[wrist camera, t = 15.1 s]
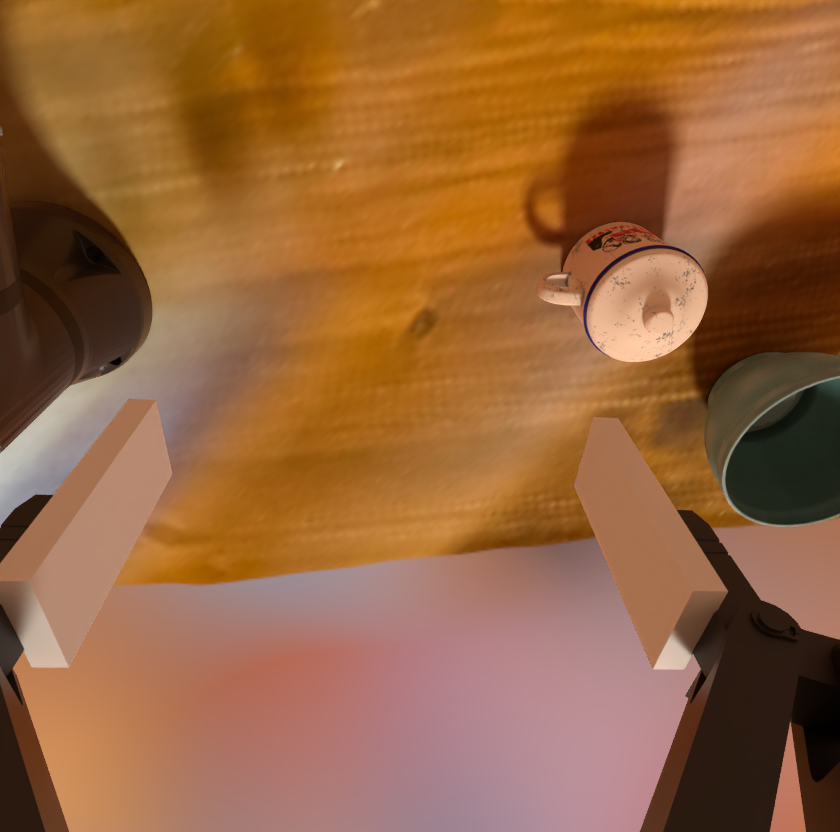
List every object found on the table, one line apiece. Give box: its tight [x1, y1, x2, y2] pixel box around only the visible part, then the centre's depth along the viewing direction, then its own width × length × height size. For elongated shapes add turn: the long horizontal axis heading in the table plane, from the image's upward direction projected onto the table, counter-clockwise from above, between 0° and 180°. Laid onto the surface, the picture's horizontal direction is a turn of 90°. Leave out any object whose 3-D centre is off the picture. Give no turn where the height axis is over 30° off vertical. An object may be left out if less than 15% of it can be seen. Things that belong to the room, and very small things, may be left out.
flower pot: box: [705, 352, 840, 527], centre depth 51 cm, size 16×16×11 cm
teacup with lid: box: [537, 222, 708, 362], centre depth 43 cm, size 12×9×12 cm
